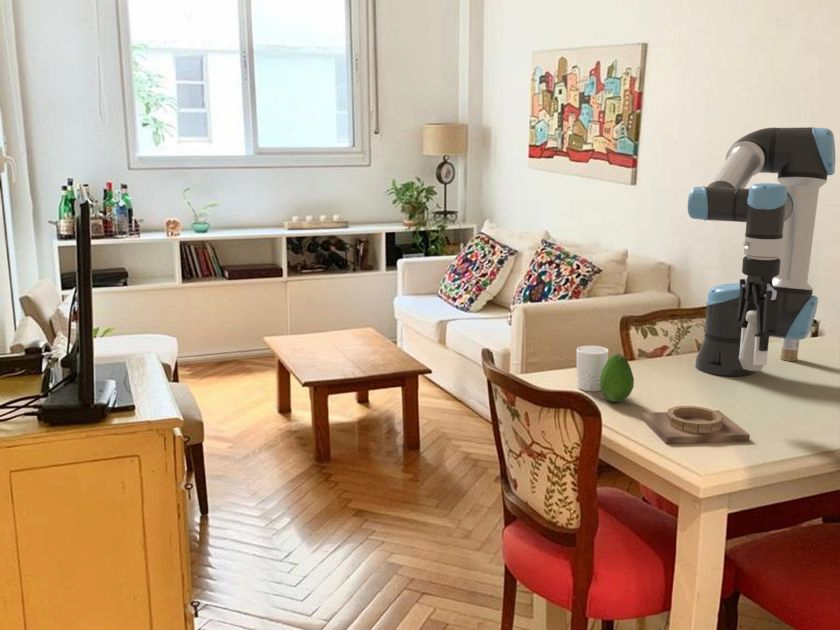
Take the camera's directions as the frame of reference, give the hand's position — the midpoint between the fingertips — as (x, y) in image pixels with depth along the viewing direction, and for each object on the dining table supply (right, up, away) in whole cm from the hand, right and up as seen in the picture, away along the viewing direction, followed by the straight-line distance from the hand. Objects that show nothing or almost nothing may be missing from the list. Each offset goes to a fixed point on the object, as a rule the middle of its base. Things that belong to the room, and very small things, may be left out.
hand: (752, 359), depth 184 cm
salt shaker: (0, -2, 0) cm, 2 cm away
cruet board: (-14, -15, -2) cm, 21 cm away
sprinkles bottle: (+31, -3, +51) cm, 60 cm away
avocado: (-26, -11, +17) cm, 33 cm away
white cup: (-30, -9, +27) cm, 41 cm away
